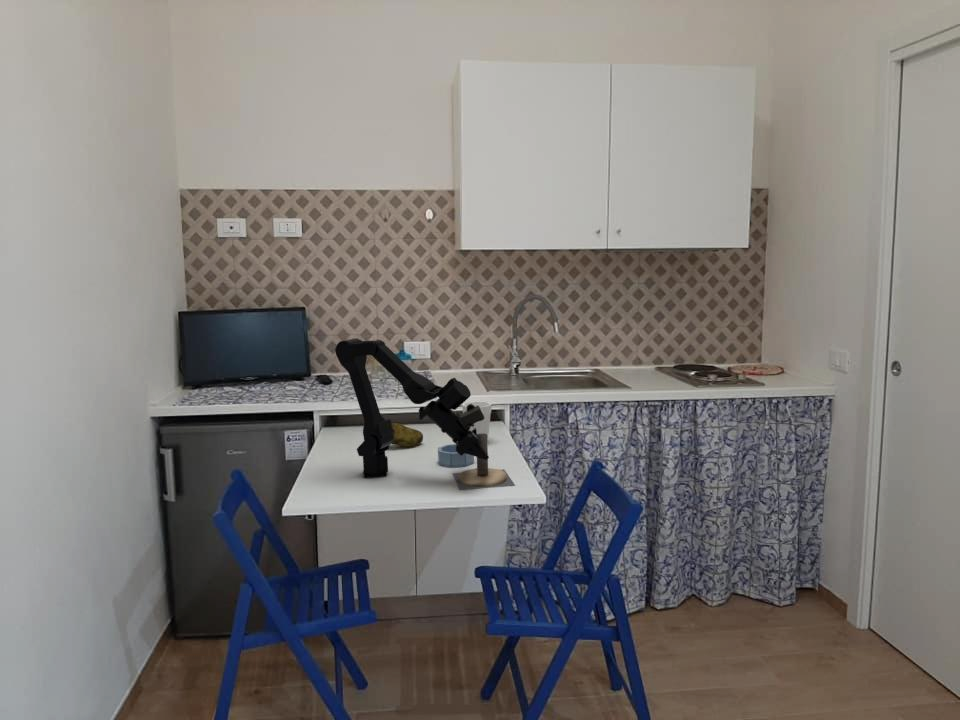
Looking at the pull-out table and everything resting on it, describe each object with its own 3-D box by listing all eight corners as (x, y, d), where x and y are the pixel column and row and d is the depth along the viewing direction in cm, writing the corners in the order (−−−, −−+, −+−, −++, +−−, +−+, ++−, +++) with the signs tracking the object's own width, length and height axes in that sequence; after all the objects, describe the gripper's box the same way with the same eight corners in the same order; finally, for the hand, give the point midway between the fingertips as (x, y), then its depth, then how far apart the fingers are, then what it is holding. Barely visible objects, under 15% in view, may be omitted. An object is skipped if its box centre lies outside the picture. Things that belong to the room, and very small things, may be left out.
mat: (459, 490, 193) (459, 489, 193) (452, 474, 207) (452, 473, 207) (515, 486, 195) (515, 485, 195) (504, 470, 210) (504, 469, 210)
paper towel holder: (462, 488, 194) (461, 442, 192) (456, 474, 206) (454, 430, 205) (510, 484, 196) (510, 439, 194) (501, 470, 209) (500, 427, 207)
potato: (424, 448, 235) (423, 424, 234) (384, 451, 233) (383, 426, 232) (422, 442, 243) (422, 418, 242) (383, 444, 241) (382, 420, 240)
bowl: (440, 469, 212) (440, 454, 212) (437, 459, 222) (436, 445, 222) (475, 466, 214) (475, 451, 213) (470, 457, 224) (470, 443, 223)
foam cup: (467, 448, 234) (466, 408, 233) (460, 441, 243) (459, 402, 241) (495, 445, 237) (494, 406, 235) (487, 438, 246) (486, 400, 244)
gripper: (467, 404, 188) (511, 444, 191) (464, 390, 207) (504, 427, 209) (438, 435, 189) (481, 475, 191) (437, 419, 208) (477, 455, 210)
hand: (487, 456), depth 200 cm, fingers open, 3 cm apart
